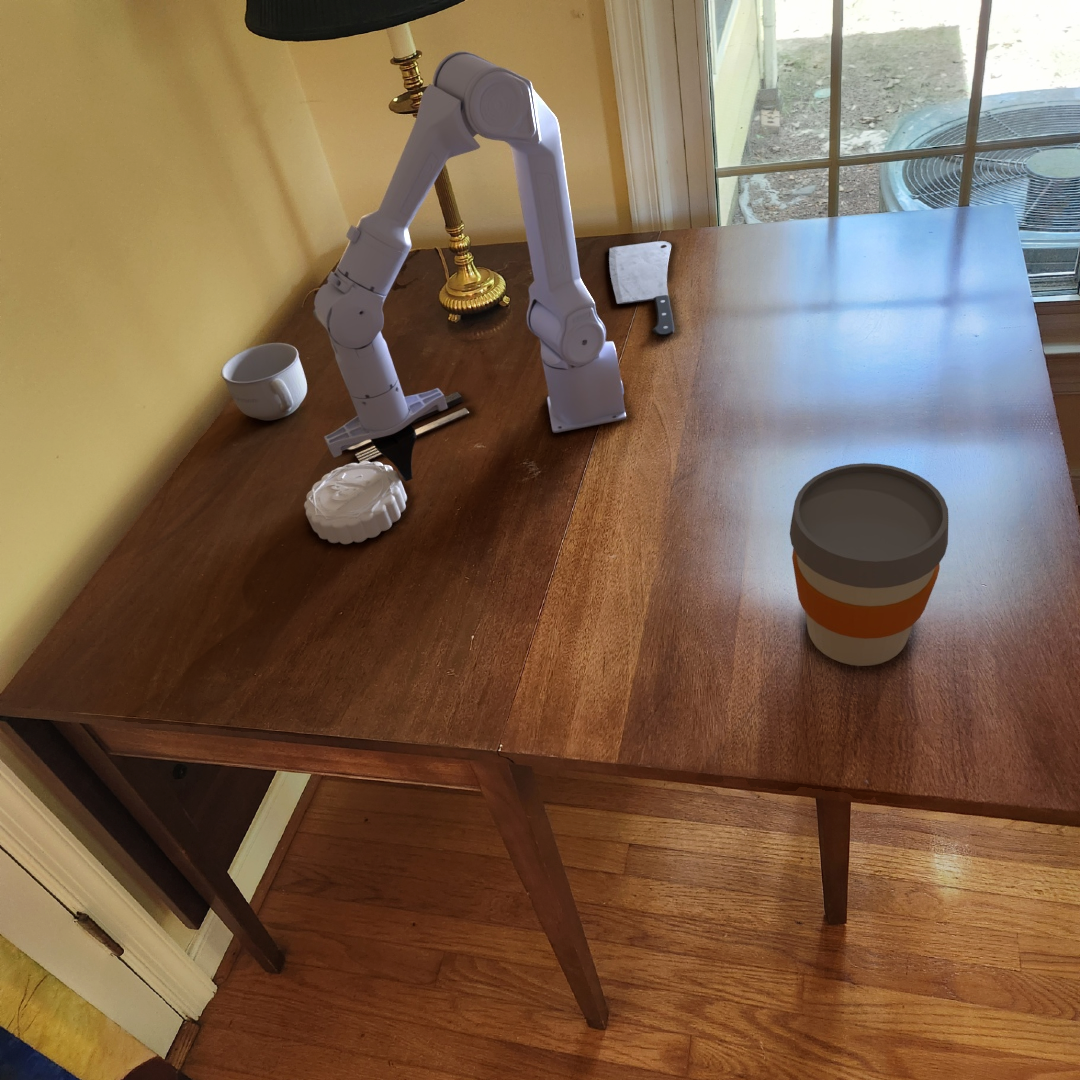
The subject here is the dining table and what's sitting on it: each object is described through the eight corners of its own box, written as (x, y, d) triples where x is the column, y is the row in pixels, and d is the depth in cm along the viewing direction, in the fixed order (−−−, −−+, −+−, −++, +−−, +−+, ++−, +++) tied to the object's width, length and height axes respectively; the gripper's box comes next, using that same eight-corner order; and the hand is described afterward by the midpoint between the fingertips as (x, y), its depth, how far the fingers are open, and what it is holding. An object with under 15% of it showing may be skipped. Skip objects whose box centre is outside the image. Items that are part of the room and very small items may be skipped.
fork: (464, 408, 122) (463, 405, 121) (471, 416, 120) (470, 414, 120) (355, 455, 118) (354, 453, 118) (361, 464, 116) (360, 462, 116)
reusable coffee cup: (843, 703, 78) (854, 587, 68) (761, 612, 87) (760, 497, 77) (960, 644, 81) (988, 523, 70) (869, 561, 89) (882, 443, 79)
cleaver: (608, 344, 127) (679, 335, 125) (608, 341, 126) (679, 332, 125) (609, 249, 148) (670, 241, 146) (609, 246, 147) (670, 238, 146)
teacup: (238, 403, 133) (215, 357, 128) (307, 377, 135) (288, 330, 130) (253, 451, 123) (229, 403, 118) (328, 422, 125) (308, 374, 120)
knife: (458, 396, 124) (456, 390, 123) (463, 402, 123) (462, 397, 122) (344, 445, 120) (342, 440, 120) (349, 452, 119) (346, 447, 118)
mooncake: (368, 467, 116) (359, 445, 113) (427, 501, 109) (419, 478, 106) (293, 520, 110) (283, 499, 108) (350, 559, 103) (340, 537, 101)
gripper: (418, 345, 105) (447, 437, 114) (303, 393, 102) (341, 483, 111) (441, 370, 100) (468, 464, 109) (320, 422, 97) (359, 514, 106)
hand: (406, 476), depth 110 cm, fingers closed
